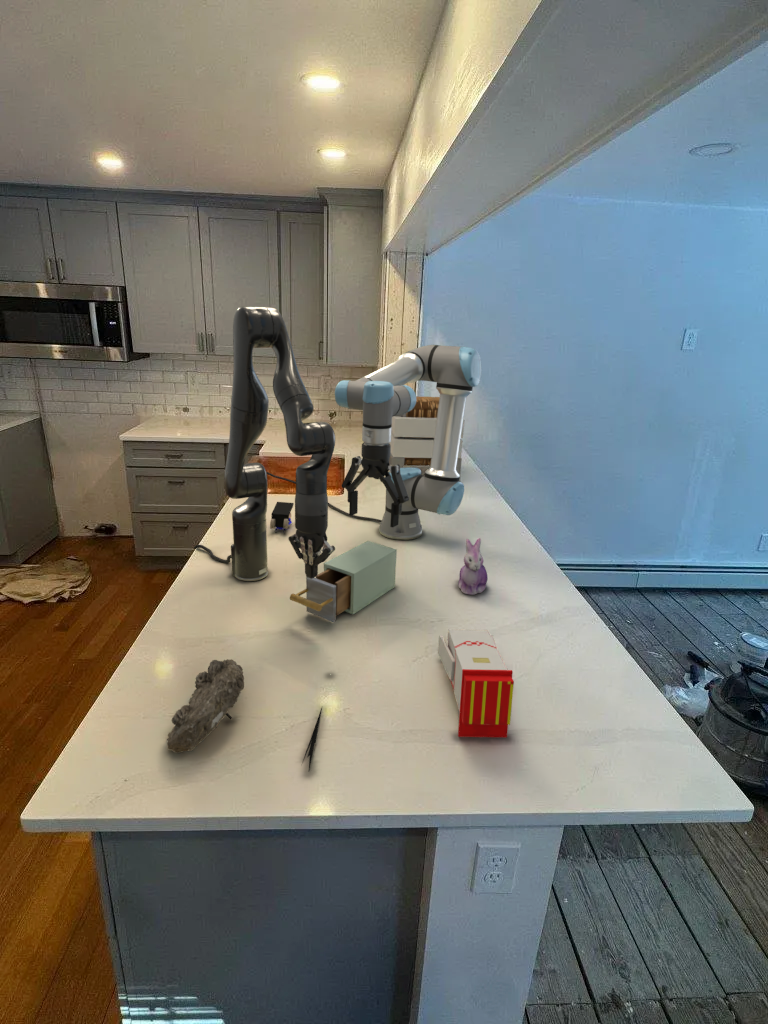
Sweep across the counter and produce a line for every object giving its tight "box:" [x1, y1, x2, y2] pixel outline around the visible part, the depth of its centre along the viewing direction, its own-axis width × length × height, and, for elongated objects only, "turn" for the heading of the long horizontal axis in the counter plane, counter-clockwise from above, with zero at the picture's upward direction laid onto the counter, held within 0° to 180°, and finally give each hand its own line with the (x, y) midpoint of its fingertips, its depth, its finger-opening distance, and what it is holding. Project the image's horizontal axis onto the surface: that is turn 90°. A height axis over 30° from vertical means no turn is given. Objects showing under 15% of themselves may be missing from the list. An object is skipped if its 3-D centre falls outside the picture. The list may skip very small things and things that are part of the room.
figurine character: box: [269, 501, 295, 534], centre depth 199 cm, size 7×8×15 cm
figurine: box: [457, 537, 488, 596], centre depth 160 cm, size 9×10×15 cm
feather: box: [301, 673, 332, 771], centre depth 108 cm, size 2×28×2 cm
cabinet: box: [323, 540, 398, 615], centre depth 155 cm, size 20×10×12 cm, turn 146°
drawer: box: [289, 568, 351, 623], centre depth 146 cm, size 24×9×10 cm, turn 146°
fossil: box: [166, 658, 245, 754], centre depth 106 cm, size 22×10×15 cm
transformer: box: [389, 395, 465, 482], centre depth 268 cm, size 34×33×41 cm
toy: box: [437, 628, 515, 738], centre depth 117 cm, size 12×13×30 cm
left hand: (311, 576), depth 136 cm, fingers closed
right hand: (373, 519), depth 153 cm, fingers open, 13 cm apart
